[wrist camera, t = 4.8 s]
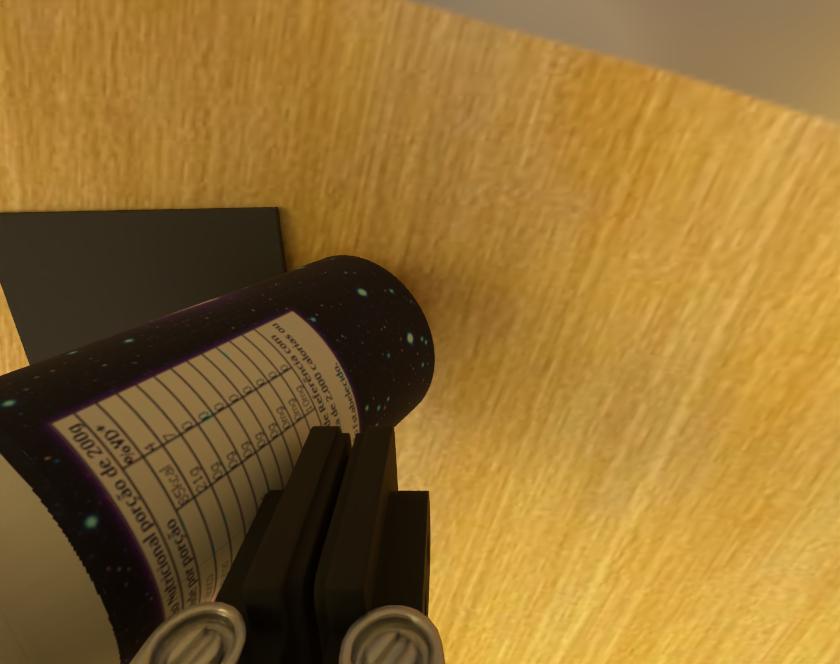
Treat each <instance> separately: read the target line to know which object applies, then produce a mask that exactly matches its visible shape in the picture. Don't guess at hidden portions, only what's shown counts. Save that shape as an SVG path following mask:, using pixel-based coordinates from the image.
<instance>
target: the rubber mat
mask: <svg viewBox="0 0 840 664" xmlns="http://www.w3.org/2000/svg"><path fill="white" fill-rule="evenodd" d="M283 273H286V264H285V257H284V249H283V242H282V234H281V227H280V219H279V211H278V207H258V208H210V209H162V210H115V211H67V212H19V213H0V283H1V286H2V289H3V291H4V294H5V297H6V300H7V303H8V305H9V308H10V311H11V314H12V317H13V319H14V322H15V325H16V328H17V331H18V334H19V336H20V339H21V342H22V345H23V348H24V350H25V353H26V356H27V359H28V362H29V364H30V365H32V364H35V363H38V362H40V361H43V360H46V359H49V358H51V357H54V356H57V355H60V354H62V353H65V352H68V351H71V350H73V349H76V348H79V347H82V346H84V345H87V344H90V343H93V342H95V341H98V340H101V339H104V338H106V337H109V336H112V335H115V334H118V333H120V332H123V331H126V330H129V329H131V328H134V327H137V326H140V325H142V324H145V323H148V322H151V321H153V320H156V319H159V318H162V317H164V316H167V315H170V314H173V313H175V312H178V311H181V310H184V309H186V308H189V307H192V306H195V305H197V304H200V303H203V302H206V301H209V300H211V299H214V298H217V297H220V296H222V295H225V294H228V293H231V292H233V291H236V290H239V289H242V288H244V287H247V286H250V285H253V284H255V283H258V282H261V281H264V280H266V279H269V278H272V277H275V276H277V275H280V274H283Z"/></svg>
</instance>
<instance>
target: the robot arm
mask: <svg viewBox="0 0 840 664" xmlns="http://www.w3.org/2000/svg"><path fill="white" fill-rule="evenodd" d="M429 577H430V501H429V491H398V481H397V465H396V448H395V433H394V427H393V426H367V427H366V430H365V433H356V436H355V439H354V443H353V446H352V444H351V436H350V434H349V433H342V430H341V427H340V426H313V427H312V428H311V430H310V432H309V434H308V437H307V439H306V441H305V444H304V446H303V448H302V450H301V453H300V455H299V457H298V460H297V462H296V464H295V466H294V469H293V471H292V473H291V476H290V478H289V480H288V482H287V485H286V487H285V489H284V490H270V491H269V492H268V493H267V494H266V496H265V497H264V499H263V501H262V503H261V505H260V507H259V510H258V512H257V514H256V516H255V518H254V520H253V522H252V524H251V526H250V528H249V530H248V532H247V534H246V536H245V539H244V541H243V543H242V545H241V547H240V549H239V551H238V553H237V555H236V557H235V559H234V561H233V563H232V565H231V568H230V570H229V572H228V574H227V576H226V578H225V580H224V582H223V584H222V586H221V588H220V590H219V592H218V595H217V597H216V599H215V601H214V602H203V603H199V604H195V605H191V606H189V607H187V608H185V609H183V610H181V611H179V612H176V613H175V614H173V615H172V616H171V617H169V618H168V619H167V620H165V621H164V622H163V623H161V624H160V625H159V626H158V628H157V629H156V630H155V631H154V632H153V633H152V634H151V635H150V636H149V638H148V639H147V640H146V642H145V643H144V644H143V646H142V647H141V648H140V650H139V651H138V653H137V654H136V655H135V657H134V658H133V659H132V661H131V662H130V663H129V664H445V659H444V653H443V646H442V642H441V639H440V636H439V632H438V630H437V628H436V627H435V626H434V624H433V623H432V622H431V620H430V619H429V618H428V603H429Z"/></svg>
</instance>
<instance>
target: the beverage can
mask: <svg viewBox="0 0 840 664" xmlns="http://www.w3.org/2000/svg"><path fill="white" fill-rule="evenodd" d="M434 364H435V355H434V345H433V340H432V335H431V332H430V328H429V326H428V323H427V320H426V318H425V316H424V314H423V312H422V310H421V308H420V306H419V305H418V303H417V301H416V300H415V298H414V297H413V296H412V294H411V293H410V292H409V290H408V289H407V288H406V287H405V286H404V285H403V284H402V283H401V282H400V281H399V280H398V279H397V278H396V277H395V276H393V275H392V274H391V273H390V272H388V271H387V270H385V269H384V268H382V267H381V266H379V265H377V264H375V263H373V262H371V261H369V260H366V259H363V258H359V257H355V256H347V255H338V256H331V257H327V258H324V259H322V260H319V261H316V262H313V263H311V264H308V265H305V266H302V267H299V268H297V269H294V270H291V271H288V272H286V273H283V274H280V275H277V276H275V277H272V278H269V279H266V280H264V281H261V282H258V283H255V284H253V285H250V286H247V287H244V288H242V289H239V290H236V291H233V292H231V293H228V294H225V295H222V296H220V297H217V298H214V299H211V300H209V301H206V302H203V303H200V304H197V305H195V306H192V307H189V308H186V309H184V310H181V311H178V312H175V313H173V314H170V315H167V316H164V317H162V318H159V319H156V320H153V321H151V322H148V323H145V324H142V325H140V326H137V327H134V328H131V329H129V330H126V331H123V332H120V333H118V334H115V335H112V336H109V337H106V338H104V339H101V340H98V341H95V342H93V343H90V344H87V345H84V346H82V347H79V348H76V349H73V350H71V351H68V352H65V353H62V354H60V355H57V356H54V357H51V358H49V359H46V360H43V361H40V362H38V363H35V364H32V365H29V366H27V367H24V368H21V369H18V370H16V371H13V372H10V373H7V374H4V375H2V376H0V664H129V663H130V662H131V661H132V659H133V658H134V657H135V655H136V654H137V653H138V651H139V650H140V648H141V647H142V646H143V644H144V643H145V642H146V640H147V639H148V638H149V636H150V635H151V634H152V633H153V632H154V631H155V630H156V629H157V628H158V626H159V625H160V624H161V623H163V622H164V621H165V620H167V619H168V618H169V617H171V616H172V615H173V614H175V613H176V612H179V611H181V610H183V609H185V608H187V607H189V606H191V605H195V604H199V603H203V602H211V601H212V600H213V599H214V598H215V597H216V596H217V595H218V592H219V590H220V588H221V586H222V584H223V582H224V580H225V578H226V576H227V574H228V572H229V570H230V568H231V565H232V563H233V561H234V559H235V557H236V555H237V553H238V551H239V549H240V547H241V545H242V543H243V541H244V539H245V536H246V534H247V532H248V530H249V528H250V526H251V524H252V522H253V520H254V518H255V516H256V514H257V512H258V510H259V507H260V505H261V503H262V501H263V499H264V497H265V496H266V494H267V493H268V492H269V491H270V490H284V489H285V487H286V485H287V482H288V480H289V478H290V476H291V473H292V471H293V469H294V466H295V464H296V462H297V460H298V457H299V455H300V453H301V450H302V448H303V446H304V444H305V441H306V439H307V437H308V434H309V432H310V430H311V428H312V427H313V426H340V427H341V430H342V433H349V434H350V436H351V444H352V446H353V443H354V439H355V436H356V433H365V430H366V427H367V426H393V427H395V426H396V425H397V424H398V423H399V422H400V421H401V420H402V419H404V418H405V417H406V416H407V415H408V414H409V413H410V412H411V411H412V410H413V409H414V408H415V407H416V406H417V405H418V404H419V403H420V402H421V401H422V399H423V398H424V396H425V395H426V393H427V391H428V389H429V387H430V384H431V381H432V378H433V373H434Z"/></svg>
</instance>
